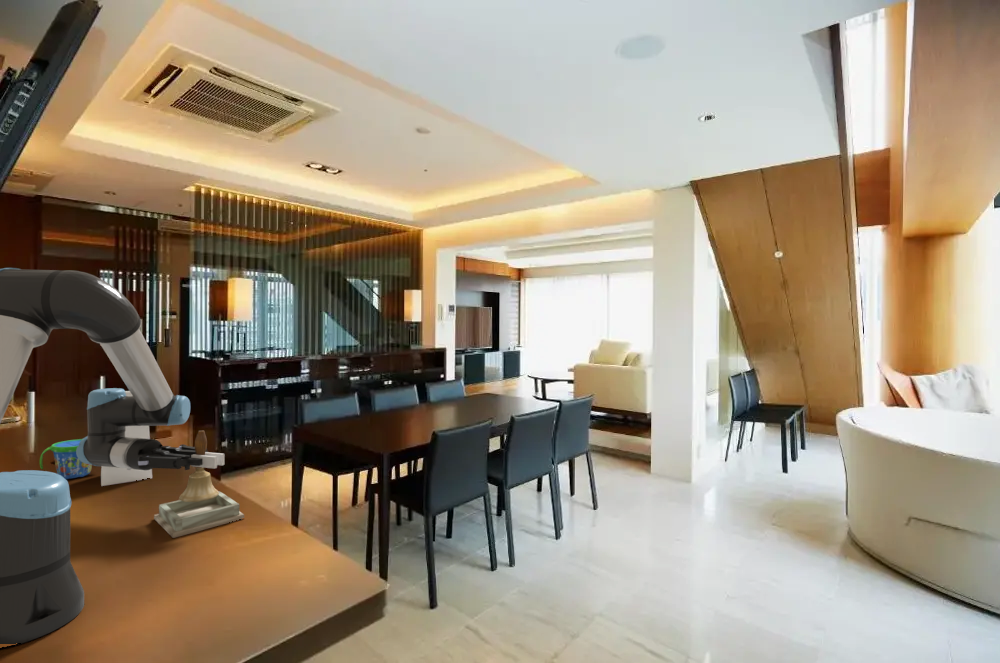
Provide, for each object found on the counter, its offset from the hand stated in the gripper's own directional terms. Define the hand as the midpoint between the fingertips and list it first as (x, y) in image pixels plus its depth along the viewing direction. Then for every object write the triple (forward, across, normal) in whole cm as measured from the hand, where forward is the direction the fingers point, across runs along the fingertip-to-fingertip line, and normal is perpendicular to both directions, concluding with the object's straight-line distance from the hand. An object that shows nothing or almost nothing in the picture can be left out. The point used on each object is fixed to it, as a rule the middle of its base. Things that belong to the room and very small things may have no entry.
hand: (219, 460), depth 120 cm
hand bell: (-6, 0, -9) cm, 11 cm away
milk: (-51, -21, -15) cm, 57 cm away
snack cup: (-67, -18, -15) cm, 70 cm away
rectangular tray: (-5, 0, -14) cm, 15 cm away
